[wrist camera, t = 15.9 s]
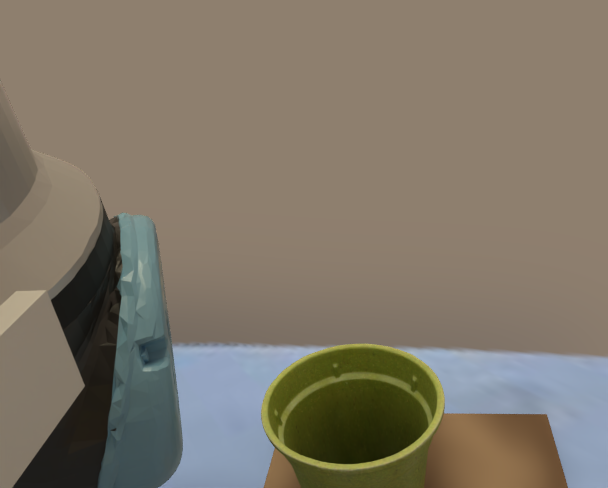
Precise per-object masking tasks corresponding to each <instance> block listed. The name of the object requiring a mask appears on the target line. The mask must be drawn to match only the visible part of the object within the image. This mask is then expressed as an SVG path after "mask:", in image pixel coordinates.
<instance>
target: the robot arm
mask: <svg viewBox="0 0 608 488" xmlns="http://www.w3.org/2000/svg"><path fill="white" fill-rule="evenodd" d="M182 451H183V439H182V428H181V418H180V409H179V400H178V391H177V382H176V374H175V366H174V357H173V349H172V341H171V333H170V325H169V318H168V311H167V303H166V296H165V288H164V279H163V272H162V265H161V259H160V251H159V244H158V239H157V234H156V228H155V224H154V222H153V221H152V220H151V219H150V218H149V217H148V216H143V215H134V216H131V215H129V214H127V213H121V214H119V215H117V216H114V218H112V219H111V220H109V219H108V217H107V214H106V211H105V209H104V206H103V204H102V201H101V198H100V196H99V194H98V192H97V189H96V188H95V186H94V184H93V182H92V181H91V179H90V178H89V177H88V176H87V175H86V174H85V173H84V172H83V171H82V170H80V169H79V168H77V167H75V166H74V165H72V164H70V163H68V162H66V161H63V160H61V159H58V158H55V157H52V156H49V155H46V154H44V153H41V152H38V151H35V150H31V148H30V146H29V143H28V142H27V139H26V137H25V134H24V132H23V130H22V128H21V125H20V123H19V121H18V119H17V116H16V114H15V112H14V110H13V107H12V105H11V103H10V101H9V99H8V96H7V94H6V92H5V89H4V87H3V85H2V83H1V80H0V488H158V487H160V486H161V485H163V484H164V483H165V482H166V481H168V480H169V479H170V478H171V476H172V475H173V474H174V472H175V471H176V469H177V467H178V465H179V464H180V461H181V457H182Z"/></svg>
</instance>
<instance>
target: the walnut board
mask: <svg viewBox="0 0 608 488" xmlns="http://www.w3.org/2000/svg"><path fill="white" fill-rule="evenodd" d="M264 488H301V486H300V484H299V481H298V479H297V477H296V474H295V472H294V469H293V467H292V465H291V464H290V463H289V461H288V460H287V459H286V458H285V456H284V455H282V454H281V453H280V452H279V451H278V450H277V449H276V448H275V450H274V453H273V457H272V460H271V464H270V467H269V471H268V474H267V478H266V481H265V485H264ZM424 488H568V486H567V483H566V479H565V476H564V472H563V469H562V466H561V462H560V459H559V455H558V452H557V448H556V445H555V441H554V438H553V434H552V431H551V427H550V424H549V420H548V417H547V414H443V418H442V421H441V423H440V426H439V428H438V430H437V432H436V433H435V435H434V436H433V439H432V441H431V444H430V446H429V448H428V456H427V464H426V474H425V483H424Z"/></svg>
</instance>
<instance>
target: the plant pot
mask: <svg viewBox="0 0 608 488" xmlns="http://www.w3.org/2000/svg"><path fill="white" fill-rule="evenodd" d="M444 406H445V399H444V392H443V388H442V386H441V383H440V381H439V379H438V377H437V376H436V374H435V373H434V372H433V370H432V369H431V368H430V367H429V366H427V365H426V364H425V363H424V362H422V361H421V360H419V359H418V358H416V357H415V356H413V355H411V354H409V353H407V352H404V351H401V350H398V349H395V348H392V347H387V346H382V345H373V344H349V345H339V346H335V347H330V348H327V349H324V350H321V351H318V352H315V353H312V354H309V355H307V356H305V357H303V358H301V359H299V360H298V361H296V362H294V363H293V364H292V365H291V366H289V367H287V368H286V369H285V370H284V371H282V372H281V373H280V374H279V375H278V377H277V378H276V379H275V380H274V381H273V382H272V384H271V385H270V386H269V388H268V390H267V391H266V394H265V397H264V400H263V403H262V409H261V419H262V424H263V428H264V430H265V432H266V435H267V437H268V438H269V440H270V442H271V443H272V444H273V446H274V447H275V448H276V449H277V450H278V451H279V452H280V453H281V454H282V455H284V456H285V458H286V459H287V460H288V461H289V463H290V464H291V465H292V467H293V469H294V472H295V474H296V477H297V479H298V481H299V484H300V486H301V488H424V483H425V474H426V464H427V456H428V448H429V446H430V444H431V441H432V439H433V436H434V435H435V433H436V432H437V430H438V428H439V426H440V423H441V421H442V418H443V414H444Z"/></svg>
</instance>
